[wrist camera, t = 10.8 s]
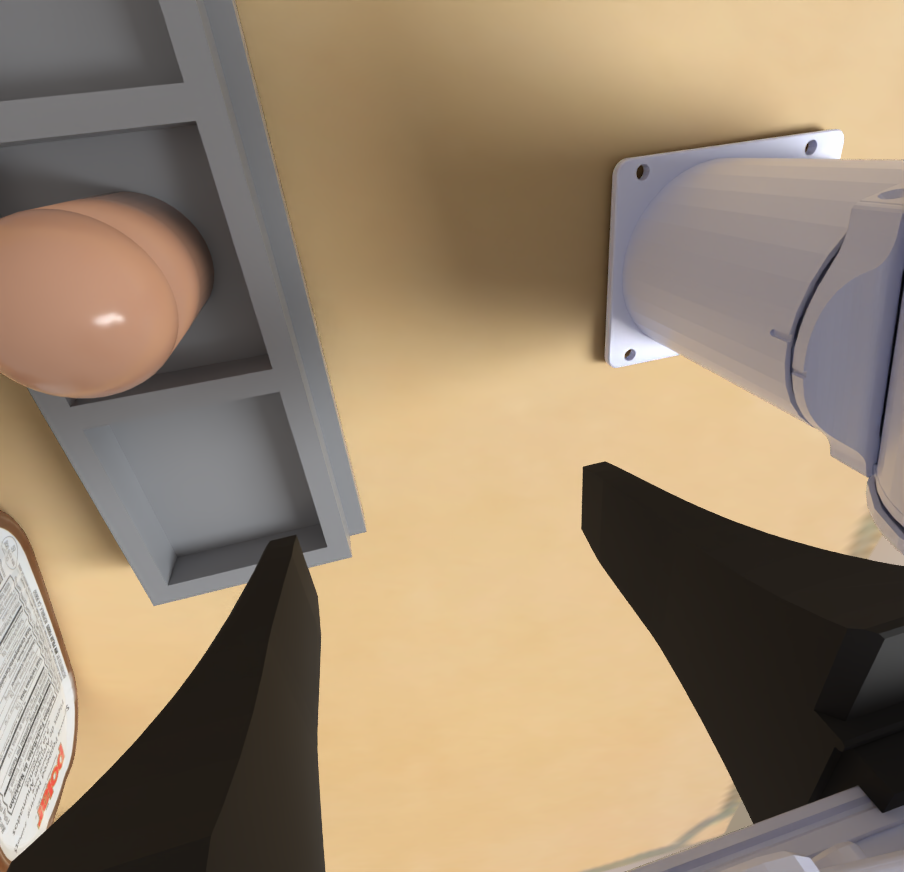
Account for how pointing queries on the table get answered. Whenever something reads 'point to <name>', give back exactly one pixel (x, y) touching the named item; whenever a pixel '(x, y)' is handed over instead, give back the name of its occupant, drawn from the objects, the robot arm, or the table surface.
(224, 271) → the grey compartment tray
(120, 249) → the tan rounded cylinder
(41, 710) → the tin
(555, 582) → the table surface
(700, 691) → the robot arm
